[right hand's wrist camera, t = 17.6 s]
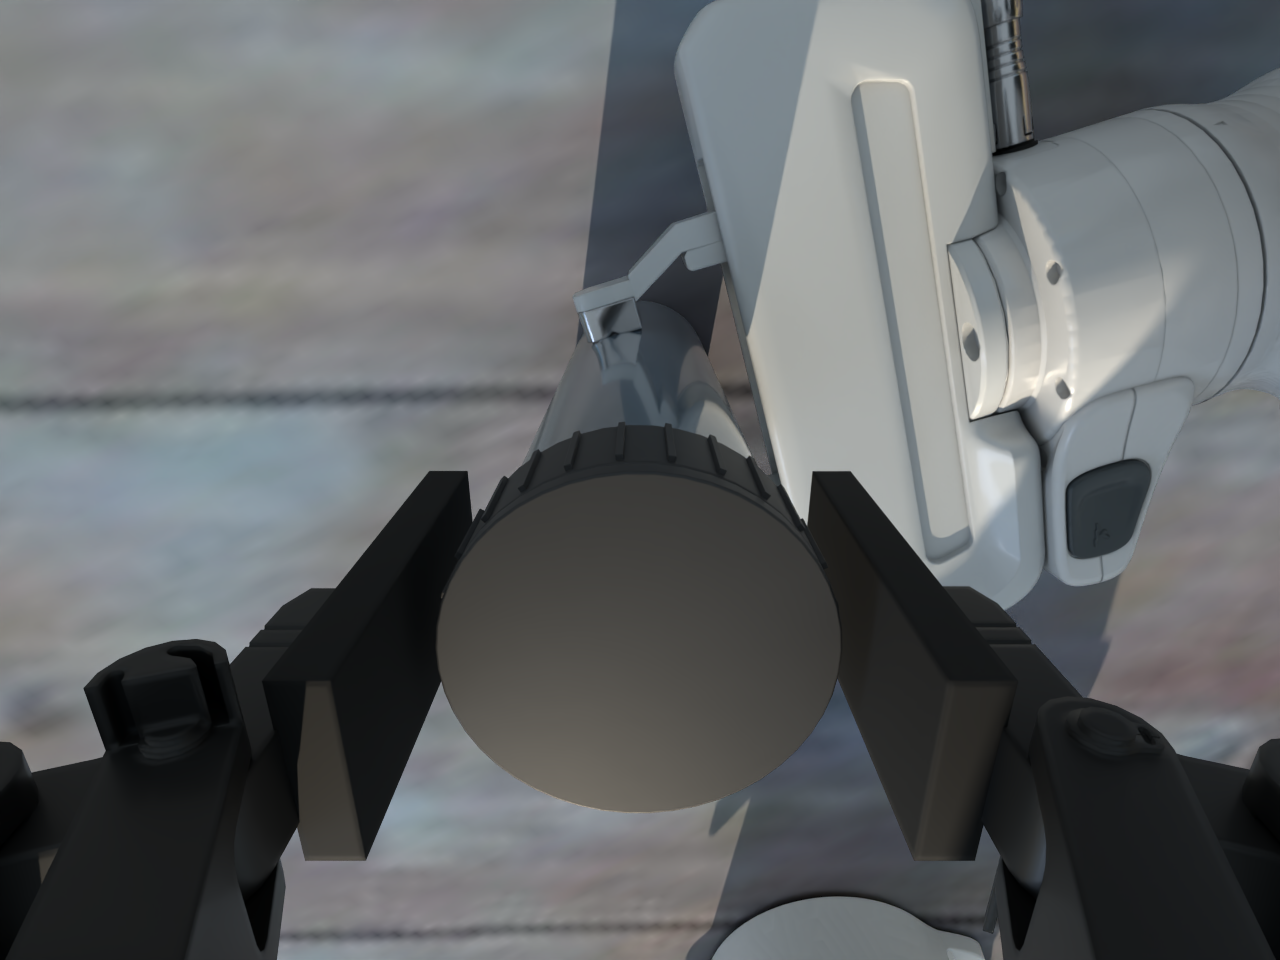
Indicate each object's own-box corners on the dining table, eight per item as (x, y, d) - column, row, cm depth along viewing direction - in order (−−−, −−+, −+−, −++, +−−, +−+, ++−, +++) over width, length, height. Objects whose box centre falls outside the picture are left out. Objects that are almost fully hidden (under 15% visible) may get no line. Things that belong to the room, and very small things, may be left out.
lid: (862, 653, 13) (903, 737, 11) (566, 766, 14) (554, 863, 12) (731, 355, 11) (752, 389, 9) (396, 513, 12) (345, 577, 10)
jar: (626, 454, 30) (606, 818, 12) (547, 353, 29) (389, 602, 11) (730, 381, 29) (879, 665, 11) (654, 272, 27) (680, 396, 9)
